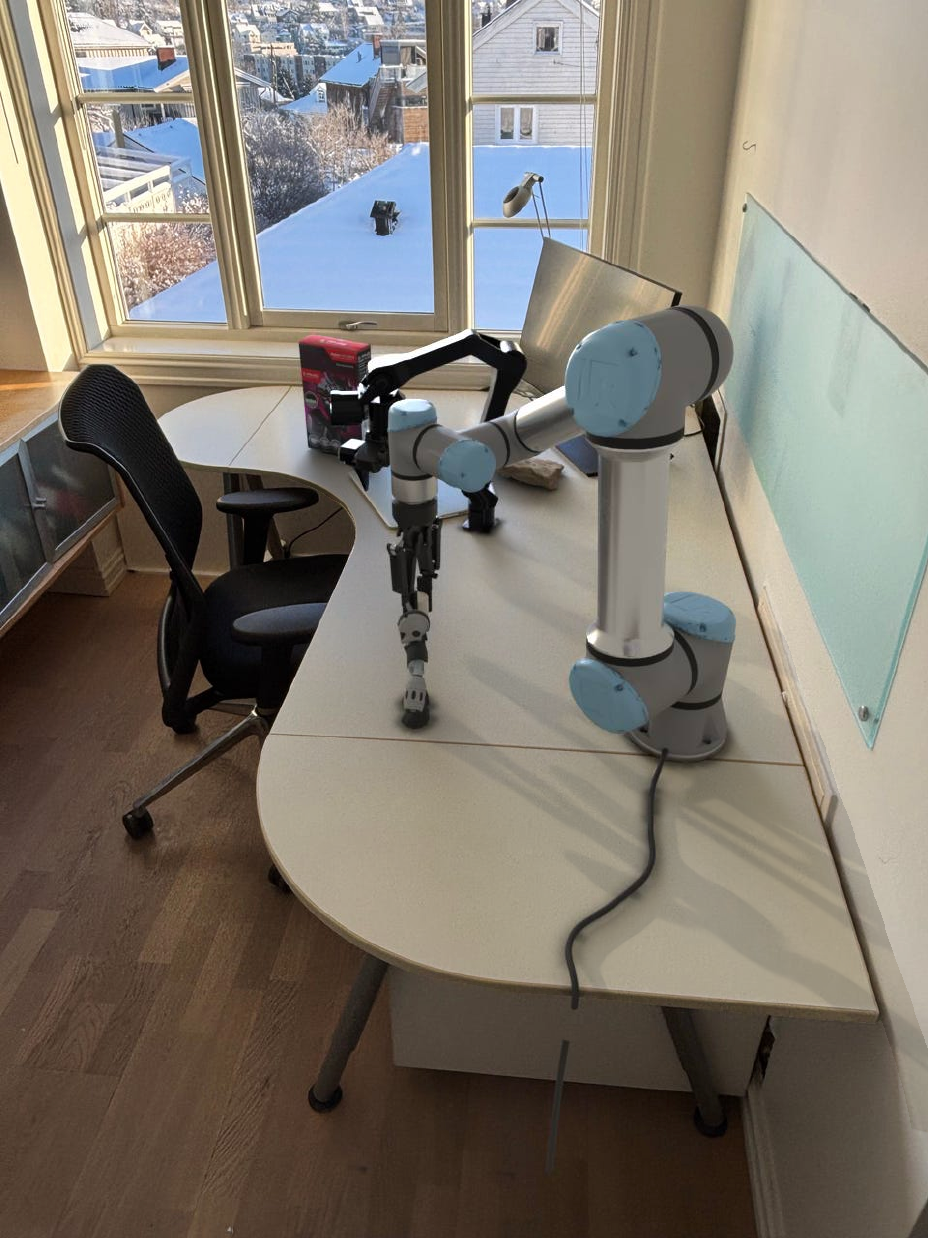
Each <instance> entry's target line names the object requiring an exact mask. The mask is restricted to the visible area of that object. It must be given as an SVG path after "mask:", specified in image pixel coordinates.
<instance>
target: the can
mask: <svg viewBox="0 0 928 1238" xmlns="http://www.w3.org/2000/svg"><path fill="white" fill-rule="evenodd" d="M416 591H417V590H416ZM417 598H418V610H420V611H422V612H424V613H426V614H427V616H428V617H429V618H430V613H429V602H428V595H427V594H426V593H424V592H419V591H417Z"/></svg>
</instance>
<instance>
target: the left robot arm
mask: <svg viewBox="0 0 928 1238" xmlns="http://www.w3.org/2000/svg"><path fill="white" fill-rule="evenodd" d="M469 356H472V357H474V358H476V359H478V360H480V361H481V362H483V363H484V364H486V365H488V366H489V367H490V385H489V389H488V393H487V396H486V399H485V403H484V406H483V410H482V413H481V416H480V420H479V423H478V424H482V423H484V422H488V421H491V420H494V419H496V418H499V417H502V416H504V415H505V413H506V410H507V407H508V404H509V401H510V397H511V395H512V393H513V392H514V390H516V388H517V387H518V386H519V384H520V383H521V381H522V379H523V377H524V375H525V373H526V371H527V369H528V360H527V357H526V355H525V354H524V352H523V350H522V348H521V346H520V345H519V344H518V343H517V342H516V341H513V340H501V339H499V338H497V337H494V336H492V335H488V334H484V333H481V332H479V331H478V330H476V329H474V328H467V329H465V330H462V332H460V333H457V334H454V335H452V336H449V337H448V338H447V337H446V338H444V339H442V340H439V341H437V342H434V343H431V344H429V345H426V346H423V347H420V348H418V349H416V350H413V351H411V352H407V353H402V354H401V353H400V354H398V353H397V354H396V353H395V354H393V353H392V354H386V355H381V356H376V357H374V358H371V361H370V362H369V364H368V365H367V368H366V375H365V377H364V378H363V380H362V381H361V382H360V384H359V385H358V387H357V389H358V391H345V392H340V391H331V392H330V396H331V404H330V411H331V425H332V427H337V426H360V424H362V420H365V408H364V405H368V419H369V430H368V431H366V435H365V437H366V439H365V441H361V440H355V439H350V440H349V441H348V442H346V443H345V444H344V445H342V446H341V447H340V448H339V451H338V454H337V457H338V460H339V461H340V462H343V463H344V465H345V466H349V467H350V468H351V469H353V470H354V472H355V473H356V475H357V478H358V480H359V482H360V484H361V487H362V489H363V491H364V492H368V491H369V489H370V473H371V474H378V473H379V472H381V470H382V469H383V468H385V469H387V468H390V454H389V438H388V431H387V430H388V419H389V409H390V407H391V406H392V405H393V404H395V403H396V402H399V401H402V400H407V397H406V394H405V393H404V392H402V391H401V390H400V388H402V387H404V386H405V385H406V384H407V383H408V382H409V381H410V380H411V379H413V378H415V377H417V376H420V375H422V374H425V373H428V372H430V371H432V370H435V369H438V368H440V367H441V368H442V367H444V366H445V365H448V364H451V363H453V362H457V361H458V360H461V359H464V358H467V357H469ZM460 492H461V493H462V495H463V496H464V497H465V498H467V519H466V521H464V522H463V523H462V525H461V528H462V529H464V530H469V531H475V532H479V533H484V534H491V533H492V532H493V531H494V529H495V528H496V527H497V525H498V524H499V523H500V522H501V519H500V518H497V517H496V515H495V514H496V507H497V504H498V502H499V497H498V494H497V491H496V488H495V486H494V482H493V481H492V479H491V480H490V482H489V483H486V484H485V485H484V488H483V489H481V490H479V491H476V492H466V491H463V490H461V489H460Z"/></svg>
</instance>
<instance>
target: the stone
mask: <svg viewBox="0 0 928 1238" xmlns="http://www.w3.org/2000/svg"><path fill="white" fill-rule="evenodd" d="M564 469H565V466H564V465H563V464H561V463H559V462H557V461H553V460H550V459H540V458H537V457H536V458H535V457H532V458H529V459H525V460H522V461H519V462H517V463H514V464H511V465H508V466H505V467H503V468H501V469H498V470H496V471H495V472H497V473H499V474H500V475H501V477H504V478H506V479H509V478H511V477H512V478H513V479H515V480H518V481H520V482H524V483H526V484H528V485H532V486H541V487H543V488H545V489H547V490H554V489H555V488H556V486H557V484H558V479H559V477H560V476H561V474H562V472H563V470H564Z"/></svg>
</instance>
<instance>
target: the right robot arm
mask: <svg viewBox="0 0 928 1238" xmlns="http://www.w3.org/2000/svg"><path fill="white" fill-rule="evenodd" d="M734 353H735V352H734V342H733V339H732V335H731V332H730V330H729V329H728V327H727V325H726V324H725V322H724V321H723V320H722V319H721V318H720V317H719V316H718V315H716V314H715V313H714V312H712V311H710V310H709V309H707V308H705V307H702V306H698V305H689V304H683V305H681V304H680V305H674V306H670V307H668V308H665V309H662V310H658V311H655V312H651V313H647V314H644V315H640V316H636V317H633V318H628V319H625V320H624V319H620V320H615V321H613V322H611V323H609V324H606V325H605V326H603V327H602V328H599V329H595V330H594V331H592V332H591V333H589V334H587V335H586V336H585V337H584V338H583V339H582V340H580V342H579V343H578V344H577V345H576V346H575V348H574V350H573V351H572V353H571V355H570V357H569V359H568V362H567V365H566V370H565V375H564V385H562V386H561V387H559V388H557V389H555V390H553V391H550V392H548V393H547V394H544V395H543V396H541V397H539V398H537V399H534V400H533V401H531V402H528V403H527V404H525V405H523V406H521V407H519V408H517V409H515V410H513V411H512V412H509V413H507V414H504V416H502V417H499V418H496V419H494V420H491V421H488V422H484V423H482V424H479V423H478V424H476V425H473V426H470V427H466V428H464V429H461V430H454V429H451V428H448V427H446V426H444V425H442V424H440V423H438V416H437V409H436V407H435V405H434V404H433V403H432V402H431V401H428V400H426V399H421V398H420V399H419V398H408V399H407V398H406V400H402V401H399V402H396V403H395V404H393V405H392V406H391V407H390V409H389V419H388V430H387V431H388V438H389V454H390V465H389V468H390V484H391V485H390V486H391V488H390V489H391V491H390V492H391V515H392V518H393V520H394V521H395V523H396V524H397V529H396V539H395V540H394V541H393V542H387V544H386V545H385V548H386V551H387V553H388V556H389V569H390V579H391V581H390V582H391V591H392V592H394V593H397V594H400V597H401V607H402V615H403V614H404V613H406V612H408V610H407V607H406V604H405V602H404V600H405V599H407V601H408V602H409V604H410V606H411V608H412V610H418V598H417V591H419V592H424V593H426V594H427V595H428V602H429V614H430V613H432V612H433V588H434V587H433V580H437V579H438V578H439V573H437V572H436V571H440V569H441V555H442V554H441V550H442V549H441V548H442V529H443V524H444V518H443V517H441V516H438V513H439V511H438V507H439V506H438V505H439V504H438V491H439V489H438V485H439V484H438V480H440V481H442V482H443V483H445V484H446V485H447V486H449V487H452V488H454V489H459V490H460V491H461V490H463V491H466V492H476V491H479V490H481V489H483V488H484V485H485V484H486V483H489V482H490V480H491V481H492V479H493V477H494V474H495V472H497V471H496V470H498V469H501V468H503V467H505V466H508V465H511V464H514V463H517V462H519V461H522V460H525V459H529V458H535V457H537V456H539V455H541V454H542V453H545V452H546V451H548V450H549V449H552V448H554V447H557V446H559V445H562V444H563V443H566V442H568V441H570V440H573V439H576V438H578V437H580V436H582V435H584V434H585V435H584V436H585V441H586V442H587V443H588V444H589V445H591V447H593V449H595V450H596V451H597V619H595V620H593V622H591V623H590V624H589V625H588V627H587V629H586V631H585V648H586V649H585V656H584V658H579V659H578V660H577V661H576V662H575V663H574V665H572V666H571V668H570V670H569V674H568V687H569V690H570V693H571V695H572V697H573V700H574V702H575V704H576V705H577V707H578V708H579V710H581V711H582V714H583V715H584V716H585V717H586V718H587V719H588V721H590V722H591V723H593V724H594V725H595V726H596V727H598V728H600V729H601V730H603V731H605V732H608V733H610V734H616V735H622V734H628V736H629V738H630V739H631V741H632V742H634V744H636V745H637V746H638V747H639V748H640V749H641V750H643V751H645V752H646V753H648V754H650V755H651V756H654V757H656V758H659V760H658V763H657V766H656V768H655V771H654V774H653V776H652V780H651V782H650V786H649V791H648V797H647V822H646V823H647V824H646V825H647V826H646V827H647V828H646V829H647V831H646V832H647V840H648V849H649V850H648V851H649V855H648V861H647V864H646V868H645V869H644V871H643V873H641V875H640V876H639V877H638V878H637V879H636V880H635V882H633V883H632V884H630V886H628V887H627V888H626V889H625V890H623V891H622V892H621V893H619V894H618V895H617V896H616V897H614V899H612V900H611V901H610V902H608V903H607V904H606V905H605V906H603V907H601V908H599V909H598V910H596V911H595V912H593V913H591V914H589V915H588V916H586V917H585V918H583V919H582V920H581V921H579V922H578V923H577V924H576V925H575V926H574V927H573V928H572V930H571V931H570V933H569V934H568V937H567V938H566V942H565V946H564V958H565V963H566V966H567V970H568V973H569V978H570V984H571V997H570V999H571V1000H570V1009H572V1010H573V1011H576V1010H577V1009H578V1008H579V1003H580V1002H579V1001H580V986H579V985H580V984H579V983H580V982H579V978H578V973H577V969H576V965H575V962H574V958H573V945H574V942H575V940H576V938H577V936H578V935H579V934H580V932H581V931H582V930H583V929H584V928H586V927H587V926H588V925H590V924H592V923H593V922H595V921H597V920H598V919H601V918H602V917H603V916H605V915H607V914H609V913H610V912H611V911H612V910H614V909H615V908H616V907H617V906H619V905H620V904H621V903H622V902H623V901H624V900H626V899H627V898H628V897H630V896H631V895H632V894H633V893H635V892H636V891H637V890H638V889H639V888H640V887H642V885H643V884H644V883H645V882H646V881H647V880H648V878H649V877H650V875H651V874H652V871H653V868H654V866H655V863H656V859H657V850H656V841H655V831H654V830H655V829H654V828H655V827H654V825H655V823H654V821H655V819H654V818H655V817H654V816H655V815H654V814H655V811H654V810H655V796H656V795H655V794H656V789H657V785H658V781H659V779H660V776H661V773H662V770H663V769H664V765H665V762H666V761H670V762H675V763H694V762H700V761H703V760H706V759H709V758H711V757H714V755H716V754H718V752H720V751H721V750H722V748H723V747H724V744H725V743H726V740H727V739H726V738H727V733H728V721H727V716H726V712H725V708H724V707H725V706H724V701H723V692H724V686H725V682H726V678H727V674H728V669H729V664H730V659H731V654H732V651H733V647H734V642H735V640H736V627H737V619H736V617H735V615H734V613H733V611H732V609H731V608H730V607H728V606H727V605H726V604H725V603H723V602H722V601H720V600H719V599H717V598H714V597H712V596H709V595H707V594H702V593H698V592H692V591H685V590H678V591H669V592H667V593H665V590H666V567H667V566H666V565H667V543H668V542H667V540H668V520H669V519H668V518H669V500H670V499H669V498H670V497H669V495H670V476H671V475H670V473H671V472H670V471H671V452H672V450H673V449H674V448H676V447H677V446H678V445H679V444H680V443H682V442H683V440H684V439H685V431H686V415H687V414H686V412H687V407H690V406H692V405H695V404H696V403H699V402H702V401H704V400H705V399H706V398H707V399H708V397H710V396H711V395H714V393H715V392H716V391H717V390H718V389H720V388H721V386H722V385H723V383H724V382H725V381H726V379H727V378H728V376H729V374H730V371H731V369H732V366H733V361H734ZM417 566H418V573H419V575H417V576H416V574H417ZM415 584H416V589H415ZM570 1042H571V1041H570V1040H567V1039H562V1041H561V1047H560V1048H561V1049H560V1052H559V1059H558V1065H557V1073H556V1079H555V1086H554V1093H553V1101H552V1102H553V1103H552V1111H551V1118H550V1119H551V1120H550V1129H549V1138H548V1139H549V1141H548V1148H547V1157H546V1165H545V1166H546V1167H545V1172H546V1174H552V1172H553V1168H554V1161H555V1152H556V1151H555V1150H556V1143H557V1133H558V1125H559V1115H560V1109H561V1108H560V1107H561V1099H562V1092H563V1086H564V1085H563V1084H564V1078H565V1073H566V1066H567V1061H568V1055H569V1048H570Z"/></svg>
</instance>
